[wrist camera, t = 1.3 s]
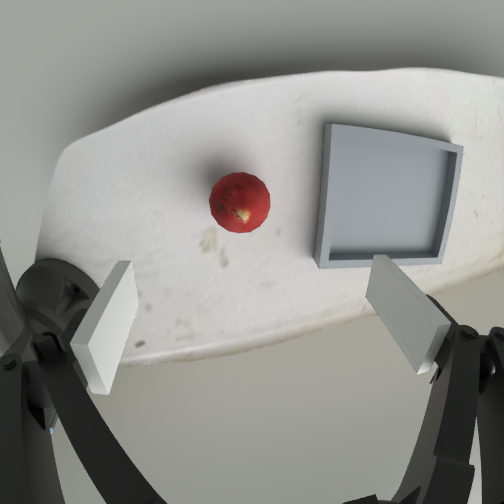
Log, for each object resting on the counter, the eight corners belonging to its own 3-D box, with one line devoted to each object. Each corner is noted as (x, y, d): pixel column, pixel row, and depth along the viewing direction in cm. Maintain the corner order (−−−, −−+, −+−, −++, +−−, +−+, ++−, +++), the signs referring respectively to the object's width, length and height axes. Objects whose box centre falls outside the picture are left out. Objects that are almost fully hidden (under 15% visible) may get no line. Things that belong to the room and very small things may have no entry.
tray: (313, 259, 37) (319, 268, 34) (324, 122, 30) (331, 123, 28) (431, 256, 38) (441, 264, 36) (451, 143, 31) (463, 146, 29)
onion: (205, 210, 33) (199, 238, 26) (219, 160, 31) (217, 174, 24) (256, 224, 34) (264, 255, 27) (272, 175, 32) (285, 193, 25)
